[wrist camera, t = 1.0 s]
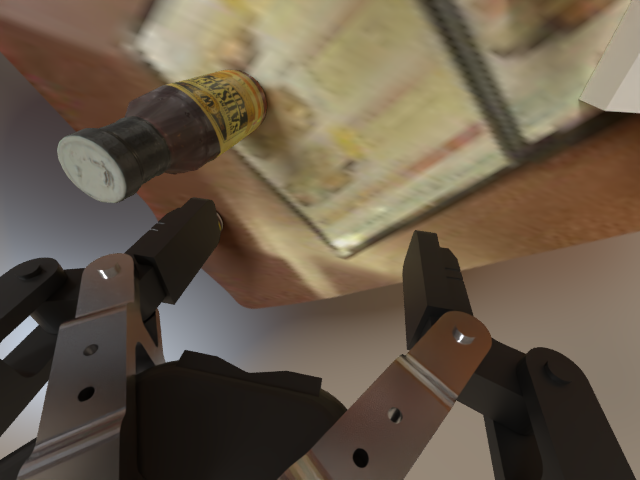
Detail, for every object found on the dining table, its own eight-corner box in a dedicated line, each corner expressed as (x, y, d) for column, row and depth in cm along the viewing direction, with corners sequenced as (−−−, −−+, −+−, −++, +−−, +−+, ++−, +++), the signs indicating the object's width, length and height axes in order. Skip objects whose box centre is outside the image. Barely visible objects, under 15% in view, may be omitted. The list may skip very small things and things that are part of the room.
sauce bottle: (281, 105, 31) (176, 194, 16) (245, 140, 34) (128, 242, 19) (236, 49, 28) (58, 88, 13) (201, 91, 32) (25, 164, 16)
